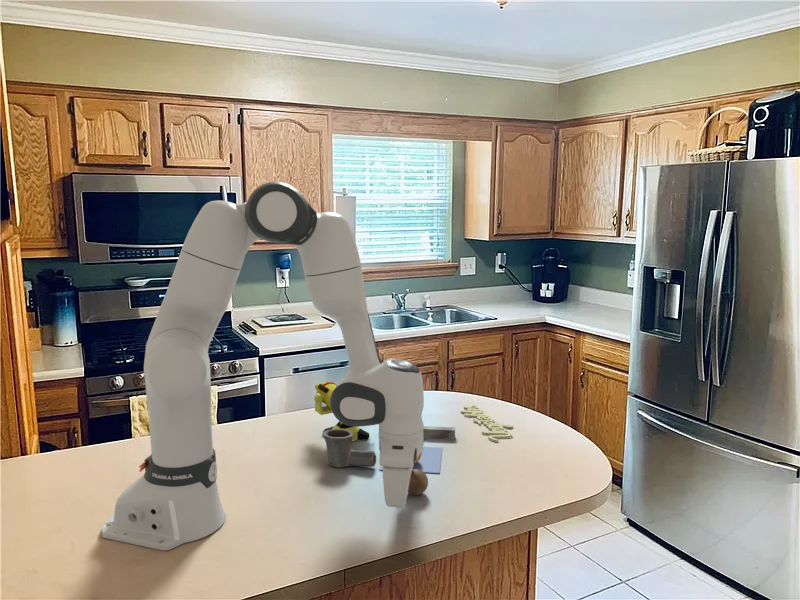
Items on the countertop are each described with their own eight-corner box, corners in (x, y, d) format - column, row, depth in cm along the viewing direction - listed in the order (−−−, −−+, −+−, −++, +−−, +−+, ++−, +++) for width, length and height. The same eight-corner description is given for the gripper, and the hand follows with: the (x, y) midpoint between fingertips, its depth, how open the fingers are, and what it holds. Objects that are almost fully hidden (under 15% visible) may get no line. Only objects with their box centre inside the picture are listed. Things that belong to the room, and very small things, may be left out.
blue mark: (379, 470, 141) (379, 469, 141) (387, 445, 155) (387, 444, 155) (439, 473, 140) (439, 472, 140) (442, 448, 154) (442, 447, 154)
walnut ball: (410, 465, 134) (398, 487, 132) (411, 462, 129) (398, 485, 127) (432, 478, 133) (420, 501, 131) (433, 475, 128) (420, 499, 126)
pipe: (371, 474, 140) (371, 441, 138) (319, 468, 143) (318, 436, 141) (378, 462, 146) (378, 431, 144) (327, 457, 148) (327, 426, 147)
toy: (358, 419, 173) (357, 368, 170) (382, 436, 161) (382, 382, 158) (302, 431, 164) (301, 378, 161) (324, 450, 152) (323, 393, 150)
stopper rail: (379, 435, 161) (379, 426, 161) (380, 432, 163) (380, 423, 163) (454, 439, 159) (455, 430, 159) (455, 436, 161) (455, 427, 161)
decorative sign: (527, 436, 160) (492, 441, 157) (526, 440, 160) (492, 444, 157) (484, 403, 185) (453, 406, 182) (484, 406, 185) (453, 409, 182)
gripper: (391, 420, 131) (391, 480, 133) (377, 462, 111) (378, 531, 113) (421, 421, 130) (420, 481, 133) (412, 463, 110) (411, 533, 113)
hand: (400, 505), depth 123 cm, fingers closed
